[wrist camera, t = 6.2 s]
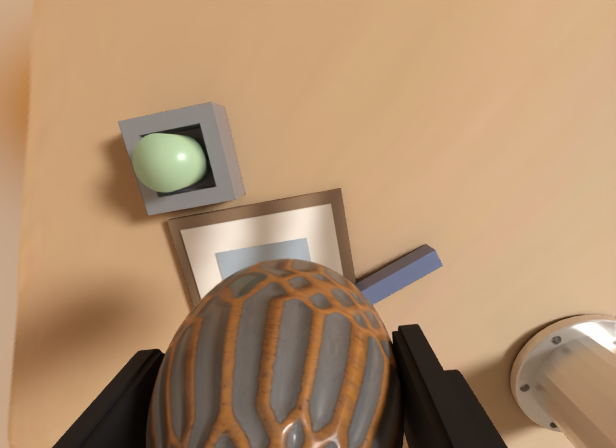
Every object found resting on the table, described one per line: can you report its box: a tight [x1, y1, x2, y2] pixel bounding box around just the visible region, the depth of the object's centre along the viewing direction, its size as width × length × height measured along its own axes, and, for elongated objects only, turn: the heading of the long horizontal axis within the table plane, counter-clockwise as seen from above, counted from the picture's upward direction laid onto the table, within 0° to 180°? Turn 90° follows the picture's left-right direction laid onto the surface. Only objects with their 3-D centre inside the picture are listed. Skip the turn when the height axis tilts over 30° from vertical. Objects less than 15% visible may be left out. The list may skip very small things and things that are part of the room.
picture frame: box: [167, 188, 356, 307], centre depth 27 cm, size 15×12×1 cm
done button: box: [132, 133, 210, 192], centre depth 21 cm, size 4×4×4 cm
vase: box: [146, 258, 404, 448], centre depth 8 cm, size 7×7×9 cm
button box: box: [118, 102, 245, 216], centre depth 23 cm, size 7×7×3 cm
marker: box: [355, 244, 443, 305], centre depth 26 cm, size 10×2×2 cm, turn 120°
